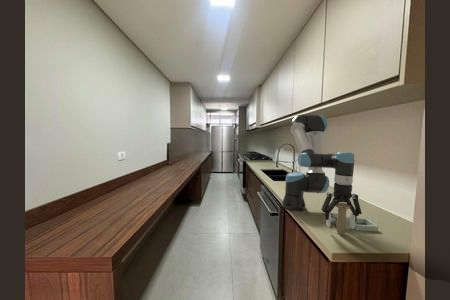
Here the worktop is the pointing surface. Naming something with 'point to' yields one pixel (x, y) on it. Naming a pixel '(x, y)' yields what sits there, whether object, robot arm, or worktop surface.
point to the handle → (341, 217)
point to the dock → (368, 227)
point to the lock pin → (332, 220)
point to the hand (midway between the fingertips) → (339, 226)
